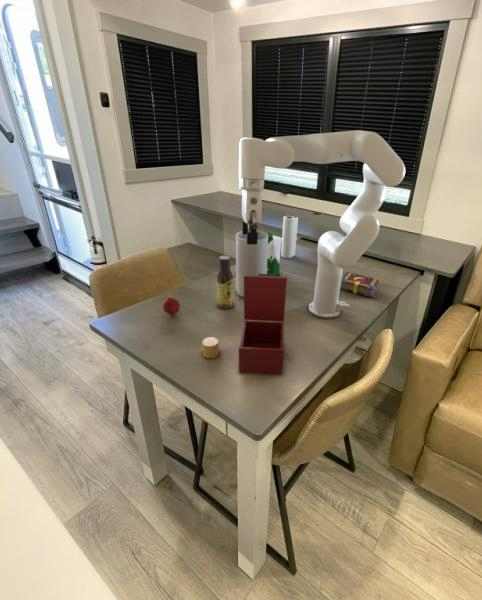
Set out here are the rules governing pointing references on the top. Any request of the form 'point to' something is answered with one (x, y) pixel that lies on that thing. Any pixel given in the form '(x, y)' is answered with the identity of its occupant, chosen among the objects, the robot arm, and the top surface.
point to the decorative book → (359, 284)
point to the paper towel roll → (289, 236)
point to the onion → (171, 306)
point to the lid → (264, 297)
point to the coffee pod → (210, 347)
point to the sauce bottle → (225, 284)
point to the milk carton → (273, 254)
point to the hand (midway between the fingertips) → (249, 239)
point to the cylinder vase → (250, 258)
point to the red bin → (261, 347)
